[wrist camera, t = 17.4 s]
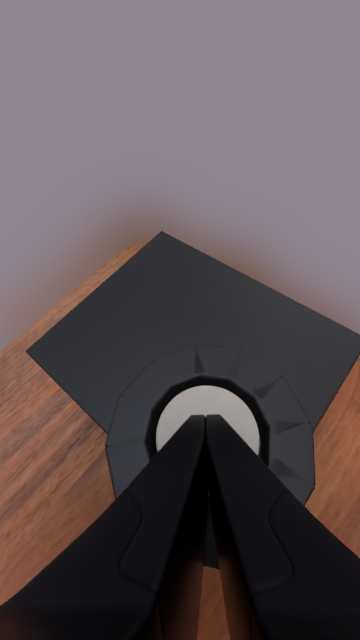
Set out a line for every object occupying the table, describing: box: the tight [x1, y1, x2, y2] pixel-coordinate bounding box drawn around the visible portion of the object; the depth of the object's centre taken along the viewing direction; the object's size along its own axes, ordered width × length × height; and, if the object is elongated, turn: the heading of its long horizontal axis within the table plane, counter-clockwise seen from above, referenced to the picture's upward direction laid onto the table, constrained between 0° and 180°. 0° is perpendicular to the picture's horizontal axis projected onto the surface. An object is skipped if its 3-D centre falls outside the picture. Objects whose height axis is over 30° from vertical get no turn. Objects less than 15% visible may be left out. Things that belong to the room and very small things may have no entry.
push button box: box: [26, 231, 360, 570], centre depth 15 cm, size 11×10×10 cm
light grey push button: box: [156, 385, 260, 455], centre depth 9 cm, size 3×3×2 cm
